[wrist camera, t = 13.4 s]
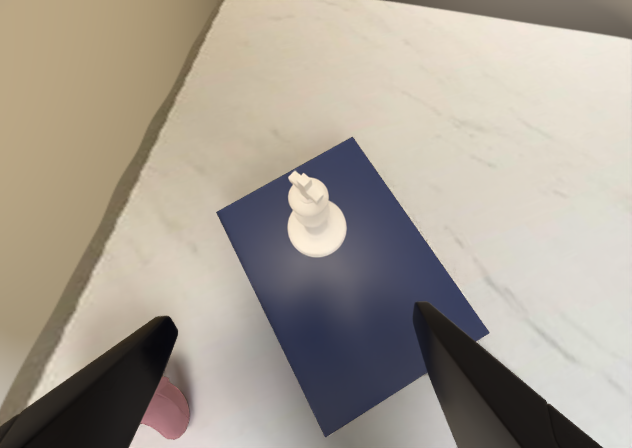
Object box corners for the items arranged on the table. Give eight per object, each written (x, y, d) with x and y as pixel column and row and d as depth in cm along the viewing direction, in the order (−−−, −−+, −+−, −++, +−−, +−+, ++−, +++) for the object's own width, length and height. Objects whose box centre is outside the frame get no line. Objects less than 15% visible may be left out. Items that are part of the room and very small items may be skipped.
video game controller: (201, 370, 21) (147, 359, 16) (193, 435, 18) (123, 449, 13) (100, 393, 21) (12, 390, 16) (76, 462, 18) (-42, 487, 13)
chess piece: (319, 270, 18) (307, 266, 8) (276, 230, 19) (220, 185, 9) (358, 225, 19) (390, 173, 9) (314, 188, 20) (300, 105, 10)
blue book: (465, 323, 19) (490, 332, 16) (325, 411, 19) (325, 437, 16) (349, 153, 23) (352, 136, 20) (230, 219, 23) (216, 212, 20)
